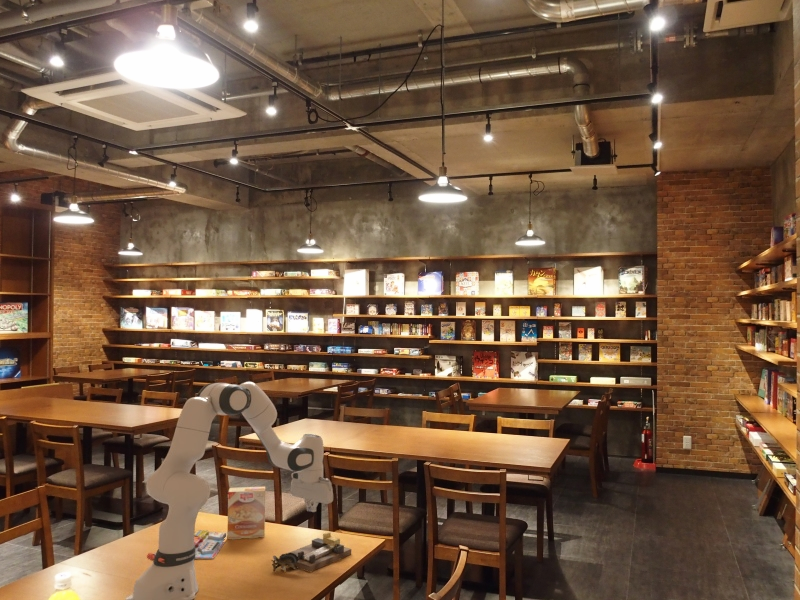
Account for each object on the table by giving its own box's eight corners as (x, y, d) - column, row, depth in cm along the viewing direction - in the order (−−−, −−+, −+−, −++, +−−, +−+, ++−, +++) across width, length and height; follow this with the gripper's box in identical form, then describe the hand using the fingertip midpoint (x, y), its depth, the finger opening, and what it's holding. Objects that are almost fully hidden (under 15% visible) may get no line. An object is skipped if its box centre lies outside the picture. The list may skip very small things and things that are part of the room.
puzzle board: (213, 561, 234) (213, 554, 234) (151, 561, 233) (151, 554, 234) (232, 534, 265) (232, 527, 265) (177, 534, 264) (177, 528, 264)
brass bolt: (334, 546, 236) (334, 536, 237) (322, 542, 240) (323, 533, 240) (339, 543, 239) (340, 534, 239) (328, 540, 242) (328, 531, 243)
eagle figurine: (276, 574, 218) (301, 565, 222) (270, 553, 221) (295, 545, 225) (274, 579, 224) (298, 570, 228) (269, 559, 227) (293, 551, 231)
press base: (310, 572, 223) (310, 559, 223) (279, 561, 232) (279, 549, 233) (351, 554, 241) (351, 542, 241) (320, 545, 250) (321, 534, 250)
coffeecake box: (227, 540, 255) (227, 491, 256) (228, 534, 262) (229, 487, 263) (264, 538, 258) (265, 490, 259) (264, 532, 265) (265, 485, 266)
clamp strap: (309, 562, 227) (309, 558, 227) (301, 559, 229) (301, 556, 229) (338, 548, 239) (338, 545, 239) (330, 546, 242) (330, 543, 242)
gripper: (337, 478, 243) (336, 514, 243) (299, 470, 255) (299, 504, 255) (325, 481, 238) (325, 518, 237) (288, 473, 250) (287, 508, 250)
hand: (311, 511), depth 246 cm, fingers closed
